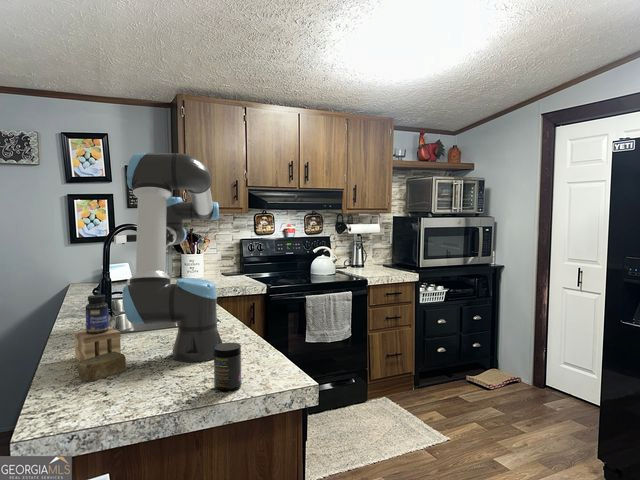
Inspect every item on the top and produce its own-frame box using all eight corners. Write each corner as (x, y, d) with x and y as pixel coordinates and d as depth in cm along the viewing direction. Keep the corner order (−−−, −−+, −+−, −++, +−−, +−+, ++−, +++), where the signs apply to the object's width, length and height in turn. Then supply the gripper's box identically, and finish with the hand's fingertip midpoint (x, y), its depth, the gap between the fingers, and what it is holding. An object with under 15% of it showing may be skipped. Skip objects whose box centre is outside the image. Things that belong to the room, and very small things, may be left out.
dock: (121, 357, 132) (120, 331, 131) (85, 366, 125) (84, 338, 124) (109, 350, 139) (108, 326, 138) (74, 358, 132) (73, 332, 131)
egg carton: (115, 328, 168) (114, 318, 168) (93, 330, 165) (93, 320, 165) (117, 322, 178) (117, 312, 178) (97, 324, 175) (96, 314, 175)
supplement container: (240, 392, 105) (239, 350, 105) (212, 393, 105) (211, 351, 104) (242, 381, 112) (242, 342, 111) (216, 383, 111) (215, 342, 111)
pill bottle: (90, 336, 127) (88, 298, 126) (83, 332, 131) (81, 296, 131) (112, 331, 131) (110, 295, 131) (104, 328, 136) (103, 293, 135)
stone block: (76, 379, 115) (75, 360, 115) (117, 366, 125) (116, 349, 125) (88, 383, 112) (87, 364, 112) (129, 370, 122) (128, 353, 121)
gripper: (194, 246, 167) (170, 250, 146) (132, 246, 170) (99, 250, 148) (193, 226, 167) (169, 228, 146) (131, 227, 169) (98, 228, 148)
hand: (134, 239), depth 147 cm, fingers open, 13 cm apart
